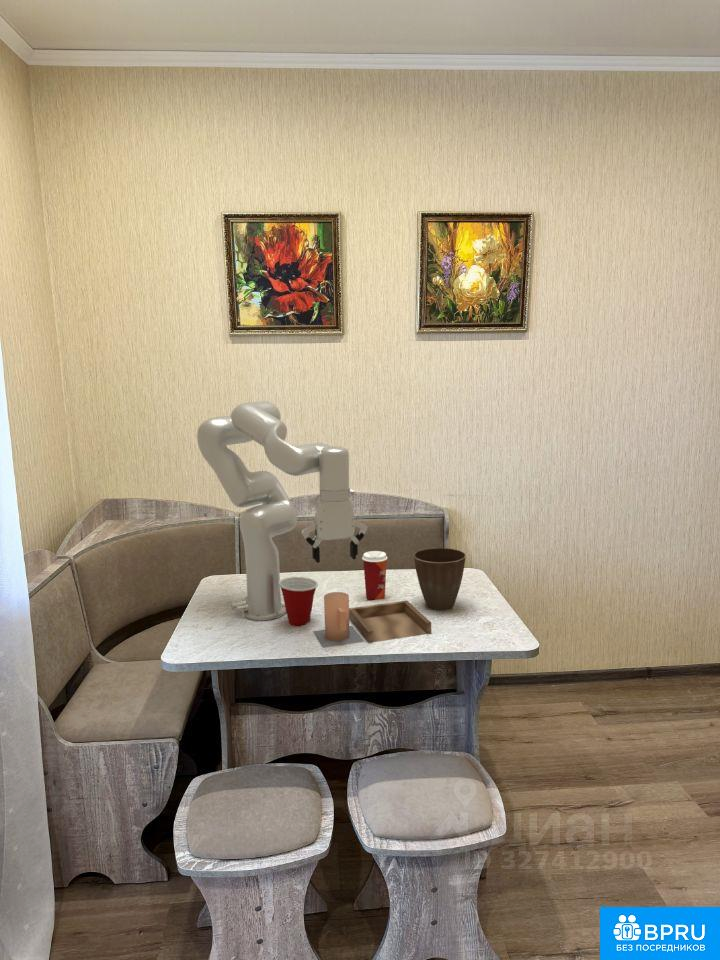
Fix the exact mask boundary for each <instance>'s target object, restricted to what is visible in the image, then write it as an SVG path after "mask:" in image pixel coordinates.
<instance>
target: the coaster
mask: <svg viewBox="0 0 720 960" xmlns="http://www.w3.org/2000/svg"><path fill="white" fill-rule="evenodd" d="M349 631H350V636H349V638H348V639H346V640H343V641H330V640H328V639H326V638H325V629H319V630H313V631H312V633H313V634H314V636H315V638H316V640H317V641H318V643H319V644H320V646H321V648H323V649H325V648H331V647H337V646H344V645H351V644H356V643H357V644H358V643H363V642H365V641H364V639H363V638H362V637H361V634H359V633H358V632H357V629H355V628H354V626H352V625H349Z"/></svg>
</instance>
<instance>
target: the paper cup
mask: <svg viewBox="0 0 720 960" xmlns="http://www.w3.org/2000/svg"><path fill="white" fill-rule="evenodd" d="M361 559H362V562H363V574H364V585H365V587H364V588H365V597H366V600H367V601H371V602H372V601H378V600H384V599H385V597H386V581H387V580H386V579H387V560H388V556H387V553H386V552H384V551H381V550H380V551H379V550H372V551H371V550H369V551H366V552H364V553H363V555H362V557H361Z"/></svg>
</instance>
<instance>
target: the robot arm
mask: <svg viewBox="0 0 720 960" xmlns="http://www.w3.org/2000/svg"><path fill="white" fill-rule="evenodd" d="M196 433H197V435H196V440H197V445H198V449H199V451H200V454H201V455H202V457H203V459H204V460H205V461H206V462H207V464H208V465H209V466H210V467H211V469H212V470H213V471H214V473H215V475H216V477H217V479H218V480H219V483H220V484H221V486H222V488H223V490H224V491H225V493H226V494H227V497H228V498H229V500H230V502H231V503H232V504H233V505H234V506H235V507H236V508H248V509H246V510H245V511H244V512H243V513H242V514H241V516H240V517H239V530H240V533H241V537H242V541H243V546H244V556H245V557H244V559H245V572H246V573H245V574H246V575H245V576H246V593H247V596H244V598H245V599H242V600H241V601H232V602H231V610H235V609H236V611H242V615H243V616H244V617H245V618H247V619H249V620H253V621H269V620H274V619H278V618H280V617H282V616H284V615H285V614H287V613H286V609H285V603H282V597H281V596H282V592H281V587H280V585H279V581H280V580H281V575H280V556H279V550H278V547H277V546H276V544H275V542H274V541H273V538H274V537H276V536H278V535H283V534H286V533H288V532H290V531H292V530H294V529H295V527H296V526H297V524H298V515H297V511H296V509H295V507H294V504H293V503H292V501H291V499H290V498H289V495H288V494H287V492H286V490H285V489H284V487H283V485H282V484H281V482H280V480H279V479H278V478H277V477H276V476H275V475H274V474H273V473H271V472H270V471H266V470H258V471H253V472H252V471H250V470H249V469H248V468H247V467H246V465H245V463H244V462H243V459H242V458H241V457H240V456H239V455H238V454H237V453H236V452H235V451H233V450H232V449H230V448H229V447H227V446H232V445H238V444H244V443H245V444H246V443H249V442H251V441H254V442H256V443H257V444H259V446H262V447H263V449H264V450H263V451H264V453H265V455H266V458H267V459H268V461H269V462H270V463H271V464H272V465H273V466H274V467H276V469H278V470H280V471H282V472H283V473H285V474H287V475H290V476H293V477H299V476H305V475H308V474H312V473H313V474H315V473H319V477H318V478H319V480H318V481H319V499H317V500H316V502H315V508H314V519H313V523H312V524H310V525H309V526H307V527H305V528H304V529H301V534H302V536H303V538H304V539H305V541H306V542H307V543H308V545H310V546H311V547H312V548H311V550H312V554H311V555H312V556H311V557H312V559H313V560H314V561H315V562H316V564H317V563H320V561H321V559H320V557H321V555H320V553H321V551H320V547H319V545H320V544H321V542H322V541H331V540H344V539H350V542H349V556H350V558H351V559H352V560H356V559H357V556H358V554H359V552H358V551H359V550H358V548H359V547H358V545H359V544H360V542H361V541H362V539H363V538H364V537H365V534H366V532H367V531H368V527H369V526H368V525H366V524H364V523H361V522H360V521H357V520H355V511H354V505H353V500H352V499H351V496H353V495H354V496H355V494H356V493H355V491H356V490H355V489H351V488H350V455H349V454H350V453H349V450H348V449H347V448H346V447H343V446H332V445H329V444H326V443H323V442H314V443H307V444H300V445H295V446H294V445H291V444H290V443H288V442H286V441H285V440H286V439H287V434H288V428H287V425H286V423H285V422H284V421H282V420H281V413H280V410H279V407H277V406H276V404H274V403H272V402H270V401H265V400H264V401H253V402H251V401H250V402H244V403H240V404H238V405H236V406H235V407H234V408H233V410H232V412H231V414H230V415H223V416H216V417H210V418H207V419H206V420H204V421H203V422H202V423H200V425H199V426H198V429H197V432H196ZM260 504H261V505H260ZM249 507H251V508H249ZM356 527H357V528H359V531H358V533H356ZM311 532H314V533H313V534H314V537H313V539H312V538H311V537H310V533H311Z"/></svg>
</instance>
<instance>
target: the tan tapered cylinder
mask: <svg viewBox="0 0 720 960" xmlns="http://www.w3.org/2000/svg"><path fill="white" fill-rule="evenodd" d="M349 597H350V596H349V594H348V593H346V592H343V591H332V592H328V593H325V594H324V596H323V604H324V605H323V607H324V609H323V610H324V611H323V612H324V630H325V638H326V639H328V640H330V641H343V640H346V639H348V638H349V636H350V631H349V626H350V619H349V608H350V604H349V602H350V598H349Z"/></svg>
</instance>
